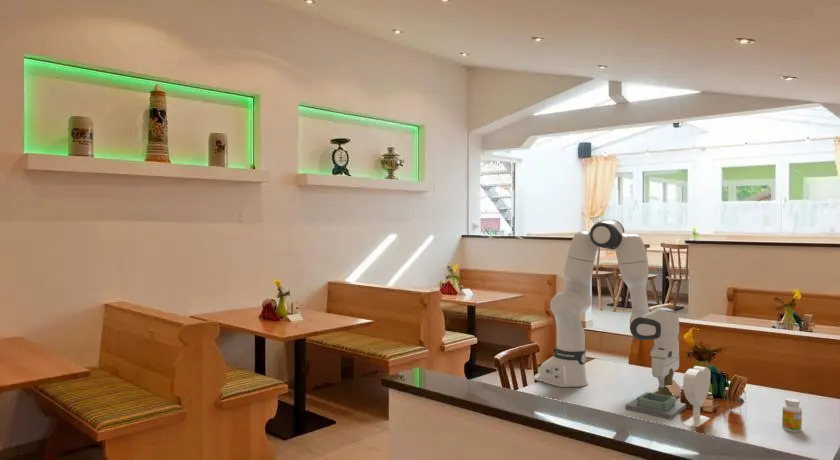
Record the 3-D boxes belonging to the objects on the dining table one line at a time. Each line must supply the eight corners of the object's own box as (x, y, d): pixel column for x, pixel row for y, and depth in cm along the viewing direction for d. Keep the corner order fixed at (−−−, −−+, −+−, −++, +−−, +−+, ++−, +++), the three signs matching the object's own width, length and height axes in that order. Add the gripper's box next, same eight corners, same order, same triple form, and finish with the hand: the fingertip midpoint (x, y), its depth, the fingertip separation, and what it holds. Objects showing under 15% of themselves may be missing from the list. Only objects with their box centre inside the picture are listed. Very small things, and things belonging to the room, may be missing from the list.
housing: (625, 409, 216) (625, 398, 216) (642, 398, 228) (642, 388, 228) (670, 419, 206) (671, 407, 206) (686, 407, 218) (686, 397, 218)
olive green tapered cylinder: (675, 397, 230) (676, 369, 230) (659, 396, 231) (659, 368, 231) (672, 393, 236) (672, 365, 235) (656, 392, 237) (656, 364, 237)
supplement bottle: (778, 426, 199) (778, 397, 199) (793, 426, 200) (794, 397, 199) (789, 432, 194) (790, 402, 194) (805, 431, 194) (805, 402, 194)
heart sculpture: (697, 413, 212) (698, 363, 211) (712, 417, 208) (713, 365, 208) (680, 424, 201) (681, 371, 200) (695, 428, 197) (696, 374, 197)
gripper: (667, 344, 243) (666, 377, 243) (648, 352, 227) (648, 388, 228) (683, 346, 239) (683, 380, 239) (665, 355, 223) (665, 391, 224)
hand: (665, 384), depth 233 cm, fingers open, 7 cm apart
